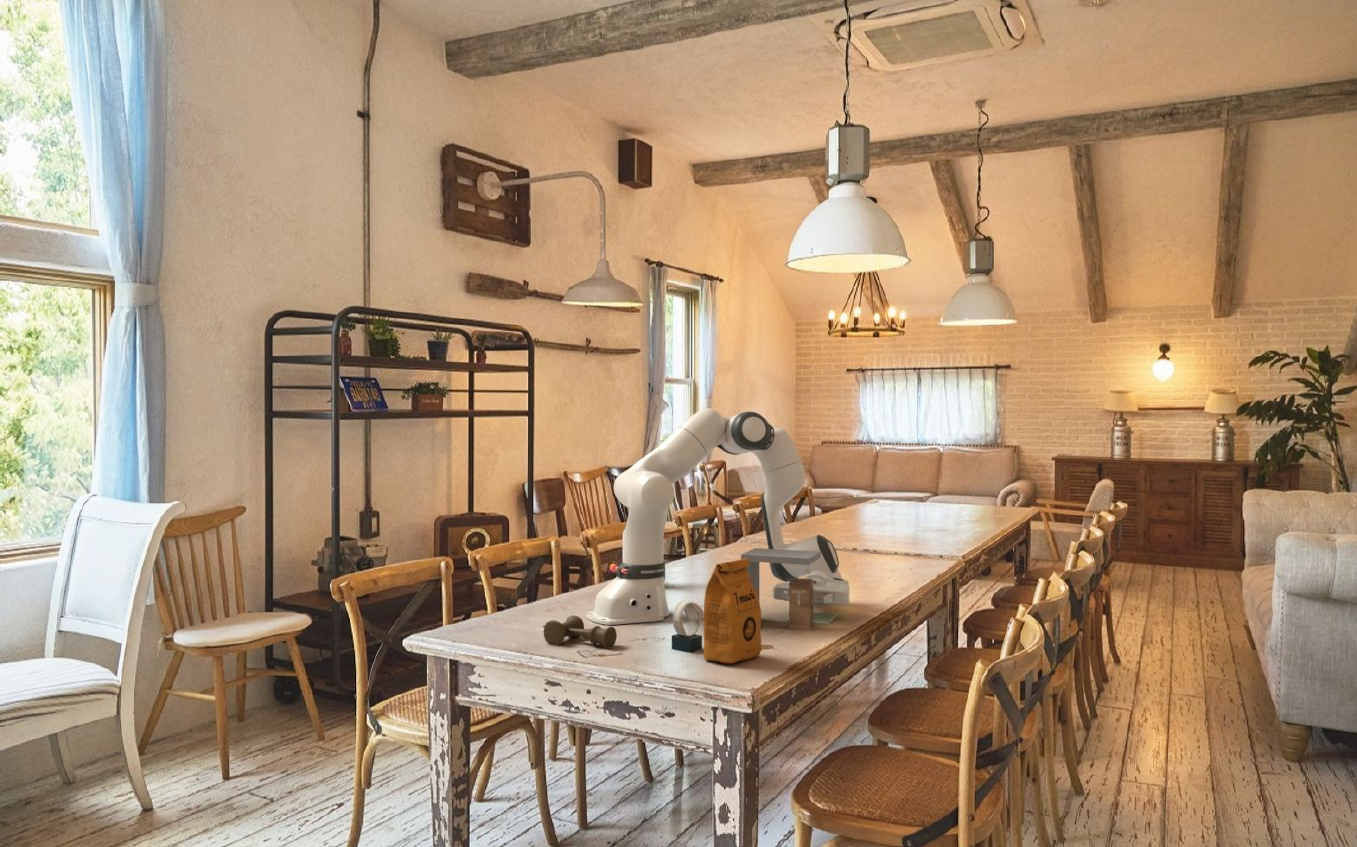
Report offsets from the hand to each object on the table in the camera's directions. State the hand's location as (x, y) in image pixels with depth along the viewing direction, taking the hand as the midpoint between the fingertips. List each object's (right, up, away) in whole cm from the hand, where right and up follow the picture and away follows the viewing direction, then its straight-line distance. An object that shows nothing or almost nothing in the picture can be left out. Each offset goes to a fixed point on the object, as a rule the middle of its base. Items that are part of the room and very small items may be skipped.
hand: (804, 599), depth 244 cm
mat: (+3, -6, +7) cm, 10 cm away
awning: (-6, -7, -1) cm, 9 cm away
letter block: (-1, -7, -3) cm, 7 cm away
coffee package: (-20, -7, -34) cm, 40 cm away
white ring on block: (-30, -7, -25) cm, 40 cm away
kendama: (-57, -7, -18) cm, 60 cm away
